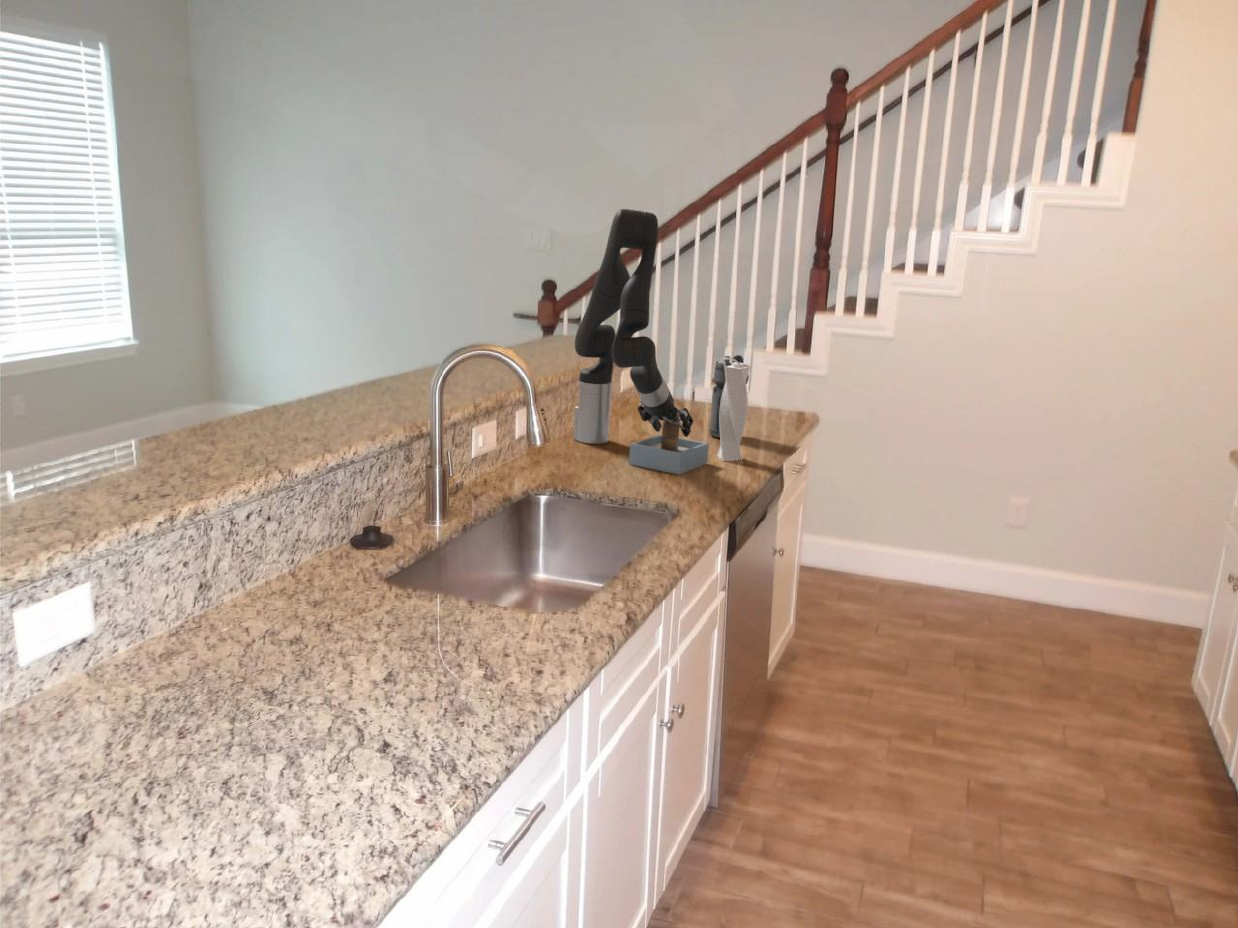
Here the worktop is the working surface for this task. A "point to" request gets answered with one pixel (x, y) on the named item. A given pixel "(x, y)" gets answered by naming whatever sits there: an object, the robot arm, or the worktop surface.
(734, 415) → the skyscraper
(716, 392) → the dark tall piece
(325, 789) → the worktop surface
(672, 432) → the peg
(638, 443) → the box
